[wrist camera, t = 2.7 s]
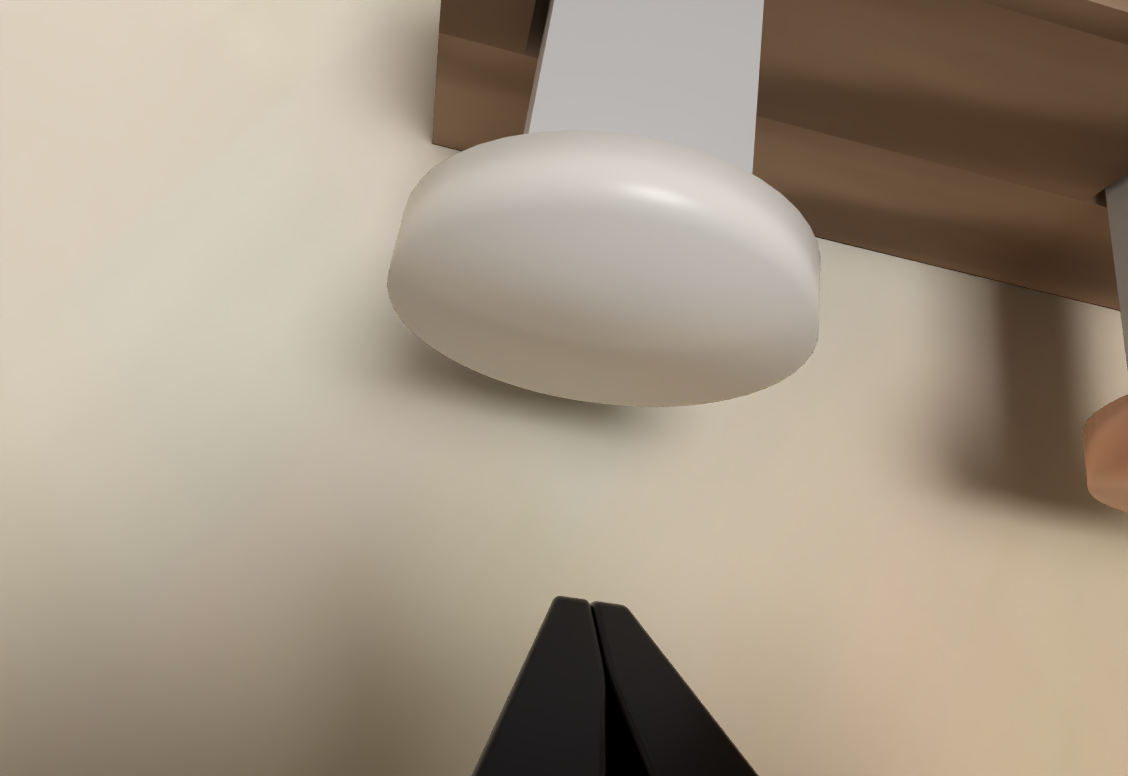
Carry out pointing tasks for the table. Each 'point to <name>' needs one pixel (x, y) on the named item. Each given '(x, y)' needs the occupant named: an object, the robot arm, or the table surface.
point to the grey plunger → (619, 221)
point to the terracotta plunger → (1124, 427)
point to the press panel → (892, 123)
